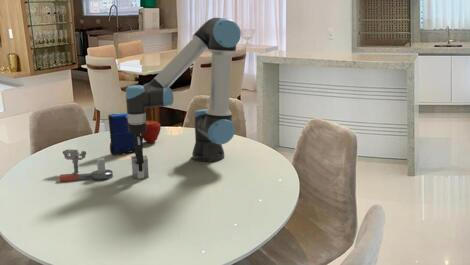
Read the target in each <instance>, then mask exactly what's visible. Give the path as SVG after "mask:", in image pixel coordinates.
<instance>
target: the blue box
mask: <svg viewBox="0 0 470 265" xmlns="http://www.w3.org/2000/svg"><path fill="white" fill-rule="evenodd" d="M126 116H127V112H122V113H110V114H108V125H109V126H108V127H109V138H110V143H109V152H110V155H112V156H116V155H123V154H128V153H129V154H130V153H132V152H133V153H135V145H134V140H133V136H134V133H133V134H132V133H129V132H128V124H129V123H128V118H126Z"/></svg>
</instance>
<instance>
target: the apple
mask: <svg viewBox="0 0 470 265" xmlns="http://www.w3.org/2000/svg"><path fill="white" fill-rule="evenodd" d="M145 123H146V132H144V133H141V135H142V137H143V141H145V142H146V143H148V144H152V143H155V142H156V141H157V140H158V138H159V135H160V133H161V128H162V127H161V123H159V122H158V121H155V120H150V119H149V120H146V122H145Z"/></svg>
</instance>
